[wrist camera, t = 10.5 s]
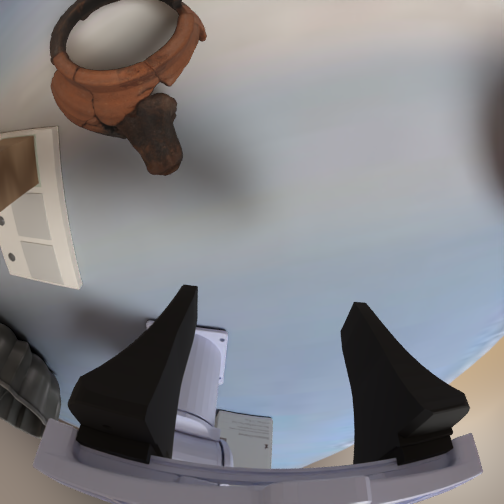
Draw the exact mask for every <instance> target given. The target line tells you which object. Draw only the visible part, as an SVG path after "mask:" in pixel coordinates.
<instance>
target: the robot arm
mask: <svg viewBox="0 0 504 504" xmlns="http://www.w3.org/2000/svg"><path fill="white" fill-rule="evenodd" d="M197 300H198V286H191V285H183V286H182V287H181V288H180V290H179V291H178V293H177V294H176V296H175V297H174V298H173V300H172V301H171V302H170V304H169V305H168V306H167V308H166V309H165V310H164V311H163V312H162V314H161V315H160V316H159V317H158V318H157V319H156V320H155V321H152V320H149V321H147V323H146V328H147V330H146V331H145V332H144V333H143V334H142V335H141V336H140V337H139V338H138V339H136V340H135V341H134V342H133V343H132V344H131V345H129V346H128V347H127V348H126V349H124V350H123V351H122V352H120V353H119V354H118V355H116V356H115V357H113V358H112V359H110V360H109V361H107V362H106V363H104V364H103V365H101V366H99V367H98V368H96V369H94V370H92V371H90V372H88V373H86V374H85V375H83V376H80V378H79V380H78V382H77V383H76V385H75V387H74V389H73V391H72V394H71V396H70V399H69V401H68V408H69V409H70V411H71V413H72V414H73V415H74V416H75V418H76V419H77V420H78V421H79V423H80V424H81V425H80V428H79V431H78V430H77V429H75V428H74V427H72V426H69V425H67V424H64V423H62V422H59V421H57V420H54V419H52V418H50V419H48V422H47V425H46V427H45V430H44V433H43V436H42V439H41V442H40V445H39V448H38V450H37V453H36V457H35V460H34V463H33V467H34V468H35V469H37V470H38V471H40V472H42V473H43V474H45V475H46V476H48V477H50V478H51V479H53V480H55V481H57V482H58V483H61V484H63V485H65V486H67V487H70V488H72V489H75V490H77V491H80V492H82V493H85V494H87V495H90V496H93V497H96V498H98V499H101V500H104V501H107V502H110V503H113V504H413V503H416V502H419V501H422V500H425V499H428V498H431V497H434V496H436V495H439V494H442V493H444V492H447V491H449V490H451V489H454V488H456V487H458V486H460V485H462V484H464V483H466V482H467V481H469V480H471V479H473V478H475V477H477V476H478V475H480V474H482V473H483V469H482V466H481V462H480V459H479V455H478V452H477V448H476V445H475V442H474V438H473V435H472V433H469V434H466V435H463V436H460V437H457V438H455V439H453V440H451V438H450V435H452V434H453V430H452V427H453V426H454V425H455V424H456V423H458V422H459V421H460V420H461V419H462V418H463V417H464V416H465V415H466V414H467V413H468V411H469V409H470V407H469V404H468V402H467V399H466V397H465V394H464V393H463V392H461V391H459V390H457V389H455V388H453V387H451V386H450V385H448V384H447V383H445V382H444V381H442V380H441V379H439V378H438V377H436V376H435V375H434V374H432V373H431V372H430V371H429V370H427V369H426V368H425V367H424V366H422V365H421V364H420V363H419V362H418V361H417V360H416V359H415V358H414V357H412V356H411V355H410V354H409V353H408V352H407V351H406V350H405V349H404V348H403V346H402V345H401V344H400V343H399V342H398V341H397V340H396V339H395V338H394V336H393V335H392V334H391V333H390V332H389V331H388V329H387V328H386V327H385V326H384V325H383V323H382V322H381V321H380V320H379V318H378V317H377V316H376V315H375V313H374V312H373V311H372V310H371V309H370V307H369V306H368V305H367V304H366V303H361V302H354V303H353V305H352V308H351V310H350V312H349V314H348V317H347V319H346V321H345V323H344V325H343V327H342V329H341V342H342V350H343V355H344V359H345V364H346V368H347V372H348V377H349V381H350V386H351V391H352V397H353V408H354V428H355V435H354V460H353V465H344V466H334V467H322V468H300V469H261V468H241V467H233V455H232V452H231V450H230V448H229V446H228V444H227V442H226V441H224V440H222V439H220V431H221V430H220V429H218V428H215V427H214V423H215V414H216V404H217V395H218V386H219V385H221V384H223V378H224V368H225V358H226V349H227V339H228V333H227V332H226V331H223V330H214V329H206V328H199V327H196V324H197ZM222 338H223V339H222ZM229 485H241V486H229Z"/></svg>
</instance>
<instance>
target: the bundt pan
mask: <svg viewBox="0 0 504 504" xmlns="http://www.w3.org/2000/svg"><path fill="white" fill-rule="evenodd" d="M60 408H61V397H60V388H59V384H58V381H57V379H56V377H55V376H54V375H53V374H52V373H51V372H50V371H49V370H48V367H47V365H46V364H45V362H44V361H43V360H42V359H41V358H40V357H39V356H37V355H36V354H34V353H31V350H30V347H29V344H28V342H25V341H19V340H17V338H16V336H15V334H14V333H13V331H12V330H11V329H10V328H9V327H7V326H5V325H3V324H0V418H1V419H2V420H4V421H6V422H8V423H9V424H10V425H12V426H13V427H15V428H17V429H19V430H22V431H23V432H25V433H27V434H29V435H31V436H33V437H36V438H39V439H42V436H43V433H44V430H45V427H46V425H47V422H48V419H50V418H52V419H54V420H57V421H58V418H59V413H60Z"/></svg>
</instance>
